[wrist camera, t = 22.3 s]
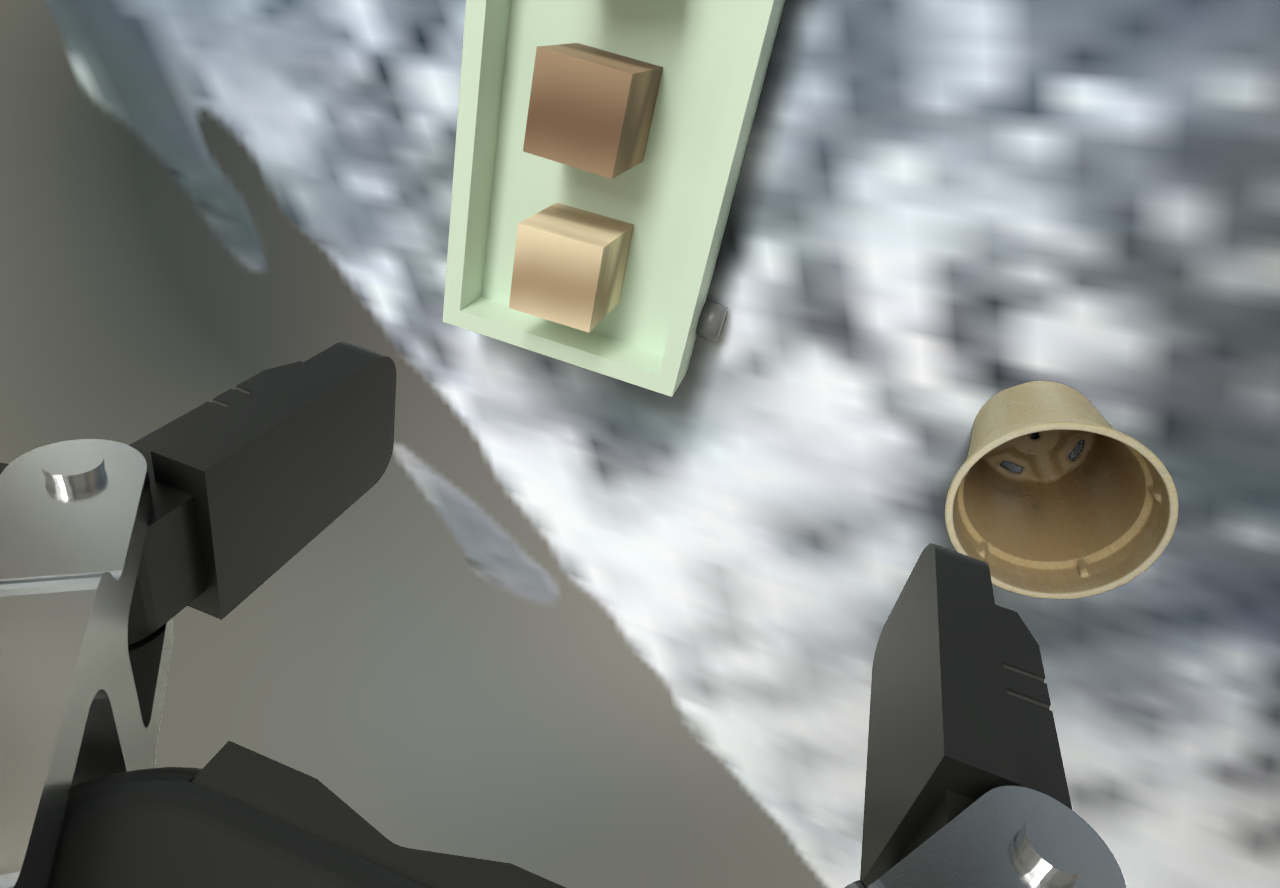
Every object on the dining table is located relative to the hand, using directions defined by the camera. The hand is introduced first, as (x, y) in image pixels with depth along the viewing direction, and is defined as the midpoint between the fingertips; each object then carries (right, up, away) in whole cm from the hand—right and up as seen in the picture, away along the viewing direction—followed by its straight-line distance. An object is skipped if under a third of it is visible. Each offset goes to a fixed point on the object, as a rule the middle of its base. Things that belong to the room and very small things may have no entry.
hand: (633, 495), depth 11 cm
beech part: (-3, +11, +32) cm, 34 cm away
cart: (-1, +19, +29) cm, 35 cm away
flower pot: (+22, +2, +32) cm, 38 cm away
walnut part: (-1, +18, +28) cm, 33 cm away
